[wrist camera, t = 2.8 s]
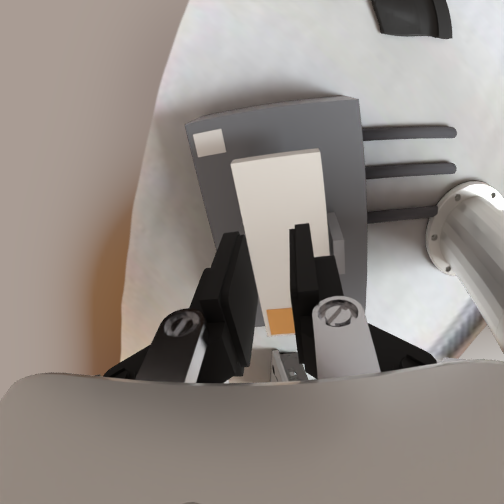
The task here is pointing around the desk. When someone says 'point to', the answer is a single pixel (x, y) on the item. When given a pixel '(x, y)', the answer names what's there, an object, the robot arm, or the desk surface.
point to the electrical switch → (286, 367)
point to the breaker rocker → (280, 223)
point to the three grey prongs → (407, 168)
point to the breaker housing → (284, 140)
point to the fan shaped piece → (414, 17)
